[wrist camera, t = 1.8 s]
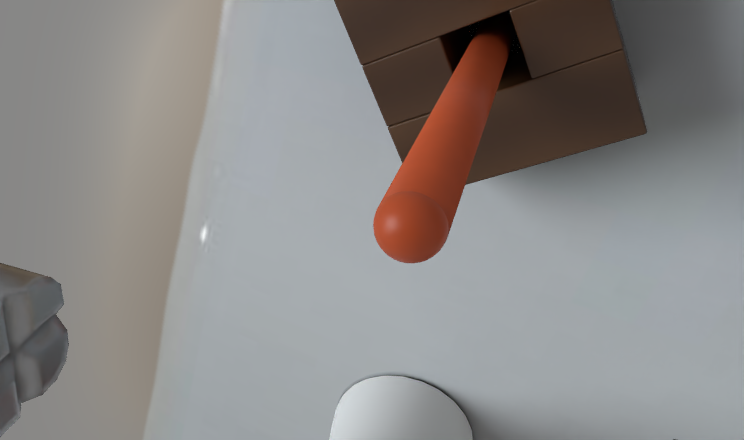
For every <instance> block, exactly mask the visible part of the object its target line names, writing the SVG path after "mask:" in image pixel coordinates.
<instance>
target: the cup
mask: <svg viewBox="0 0 744 440" xmlns="http://www.w3.org/2000/svg"><path fill="white" fill-rule="evenodd" d="M329 440H473V438H472V429H471V427H470V425H469V423H468V420H467V418H466V416H465V414H464V413H463V412H462V411H461V409H460V408H459V407H458V406H457V404H456V403H455V402H454V401H453V400H452V399H450V398H449V397H448V396H446V395H445V394H444V393H443V392H441V391H440V390H438V389H436V388H434V387H432V386H430V385H428V384H426V383H424V382H422V381H418V380H415V379H411V378H407V377H403V376H379V377H374V378H368V379H366V380H363V381H361V382H359V383H357V384H355V385H353V386H352V387H351V388H350V389H349V390H348V391H347V392H346V393H344V394H343V396H342V398H341V400H340V402H339V404H338V406H337V408H336V412H335V416H334V419H333V423H332V428H331V434H330V439H329Z"/></svg>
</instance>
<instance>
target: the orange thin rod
mask: <svg viewBox="0 0 744 440" xmlns="http://www.w3.org/2000/svg"><path fill="white" fill-rule="evenodd" d="M515 35H516V30H515V27H514V24H513V21H512V18H511V15H510V14H508V13H506V12H503V13H500V14H497V15H495V16H492V17H489V18H487V19H484V20H483V21H482V23H481V24H480V26H479V28H478V30H477V32H476V33H475V35H474V37H473V39H472V40H471V42H470V44H469V46H468V48H467V49H466V51H465V53H464V55H463V57H462V58H461V60H460V62H459V64H458V65H457V67H456V69H455V71H454V73H453V74H452V76H451V78H450V80H449V82H448V83H447V85H446V87H445V89H444V90H443V92H442V94H441V96H440V98H439V99H438V101H437V103H436V105H435V107H434V108H433V110H432V112H431V114H430V115H429V117H428V119H427V121H426V123H425V124H424V126H423V128H422V130H421V132H420V133H419V135H418V137H417V139H416V140H415V142H414V144H413V146H412V148H411V149H410V151H409V153H408V155H407V157H406V158H405V160H404V162H403V164H402V165H401V167H400V169H399V171H398V173H397V174H396V176H395V178H394V180H393V182H392V183H391V185H390V187H389V189H388V190H387V192H386V194H385V196H384V198H383V199H382V201H381V203H380V205H379V207H378V208H377V211H376V214H375V217H374V224H373V226H374V235H375V238H376V241H377V242H378V244H379V246H380V247H381V249H382V250H383V251H384V252H385V253H386V254H387V255H388V256H390V257H391V258H393V259H395V260H397V261H400V262H404V263H418V262H422V261H425V260H428V259H429V258H431V257H433V256H434V255H435V254H436V253H438V252H439V251H440V249H441V248H442V247H443V245H444V243H445V242H446V239H447V237H448V234H449V231H450V228H451V225H452V222H453V219H454V216H455V213H456V210H457V207H458V204H459V201H460V198H461V195H462V192H463V189H464V186H465V183H466V180H467V177H468V175H469V172H470V169H471V166H472V163H473V160H474V157H475V154H476V151H477V148H478V145H479V142H480V139H481V136H482V133H483V130H484V127H485V124H486V121H487V118H488V115H489V112H490V109H491V106H492V103H493V100H494V98H495V95H496V92H497V89H498V86H499V83H500V80H501V77H502V74H503V71H504V68H505V65H506V62H507V59H508V56H509V53H510V50H511V47H512V44H513V41H514V38H515Z"/></svg>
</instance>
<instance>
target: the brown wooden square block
mask: <svg viewBox="0 0 744 440" xmlns="http://www.w3.org/2000/svg"><path fill="white" fill-rule="evenodd" d="M334 1H335V4H336V6H337V9H338V11H339V13H340V16H341V18H342V20H343V23H344V25H345V28H346V30H347V32H348V35H349V37H350V40H351V42H352V44H353V47H354V49H355V52H356V54H357V56H358V59H359V61H360V63H361V65H363V66H362V67H363V70H364V72H365V75H366V77H367V80H368V82H369V84H370V87H371V89H372V92H373V94H374V96H375V99H376V101H377V103H378V106H379V108H380V111H381V113H382V115H383V118H384V120H385V123H386V125H387V126H389V127H388V130H389V132H390V135H391V137H392V139H393V142H394V144H395V146H396V149H397V151H398V154H399V156H400V158H401V161H402V163H403V162H404V160H405V158H406V157H407V155H408V153H409V151H410V149H411V148H412V146H413V144H414V142H415V140H416V139H417V137H418V135H419V133H420V132H421V130H422V128H423V126H424V124H425V123H426V121H427V119H428V117H429V115H430V114H431V112H432V110H433V108H434V107H435V105H436V103H437V101H438V99H439V98H440V96H441V94H442V92H443V90H444V89H445V87H446V85H447V83H448V82H449V80H450V78H451V76H452V74H453V73H454V71H455V69H456V67H457V65H458V64H459V62H460V60H461V58H462V57H463V55H464V53H465V51H466V49H467V48H468V46H469V44H470V42H471V40H472V39H471V36H470V33H469V30H468V27H467V26H468V25H471V24H474V23H476V22H479V21H482V20H484V19H487V18H489V17H492V16H495V15H497V14H500V13H503V12H505V11H508V10H510V15H511V18H512V21H513V24H514V27H515V30H516V33H517V36H518V39H519V42H520V45H521V48H522V51H520V52H517V53H514V54H511V55H509V56H508V59H507V62H506V65H505V68H504V71H503V74H502V77H501V80H500V83H499V86H498V89H497V92H496V95H495V98H494V100H493V103H492V106H491V109H490V112H489V115H488V118H487V121H486V124H485V127H484V130H483V133H482V136H481V139H480V142H479V145H478V148H477V151H476V154H475V157H474V160H473V163H472V166H471V169H470V172H469V175H468V177H467V180H466V183H465V185H466V184H470V183H473V182H477V181H480V180H484V179H488V178H491V177H495V176H498V175H502V174H505V173H509V172H512V171H516V170H519V169H523V168H526V167H530V166H533V165H537V164H541V163H544V162H548V161H551V160H555V159H558V158H562V157H565V156H569V155H572V154H576V153H579V152H583V151H587V150H590V149H594V148H597V147H601V146H604V145H608V144H611V143H615V142H618V141H622V140H625V139H629V138H633V137H636V136H640V135H643V134H646V133H647V128H646V124H645V120H644V116H643V112H642V108H641V104H640V100H639V96H638V92H637V88H636V84H635V81H634V77H633V74H632V70H631V66H630V63H629V59H628V56H627V52H626V49H625V45H624V42H623V38H622V34H621V31H620V27H619V24H618V20H617V17H616V13H615V10H614V6H613V2H612V0H334Z"/></svg>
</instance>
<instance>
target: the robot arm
mask: <svg viewBox="0 0 744 440" xmlns="http://www.w3.org/2000/svg"><path fill="white" fill-rule="evenodd" d="M63 305H64V301H63V295H62V289H61V284H60V283H58V282H57V281H55V280H54V279H53V278H51V277H48V276H44V275H40V274H37V273H34V272H30V271H27V270H23V269H20V268H16V267H12V266H9V265H5V264H2V263H0V437H1V436H2V435H3V434H4V433H5V432H6V431H7V430H8V429H9V428H10V427H11V426H12V425H13V424H14V423H15V422H16V421H17V420H18V419H19V418H20V411H21V403H23V402H25V401H28V400H30V399H33V398H36V397H38V396H41V395H43V394H44V392H46V391H47V389H48V388H49V387H50V386H51V385H52V384H53V383H54V382H55V381H56V380H57V378H58V376H59V374H60V372H61V370H62V368H63V366H64V364H65V362H66V358H67V352H68V346H69V343H68V333H67V329H66V328H65V327H64V325H63V324H62V322H61V321H60V320H59V318H58V317H57V315H56V314H57V312H58V311H59V310H60V309H61V307H62V306H63ZM673 440H676V439H673Z"/></svg>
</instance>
